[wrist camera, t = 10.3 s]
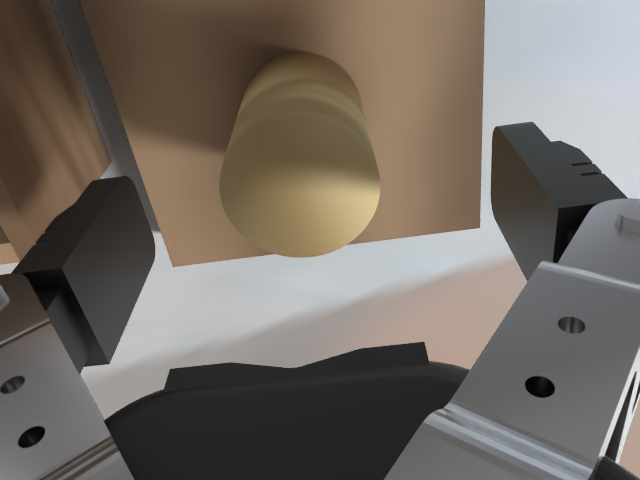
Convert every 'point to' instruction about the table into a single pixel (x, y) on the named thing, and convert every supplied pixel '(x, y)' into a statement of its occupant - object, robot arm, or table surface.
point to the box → (40, 127)
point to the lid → (298, 119)
